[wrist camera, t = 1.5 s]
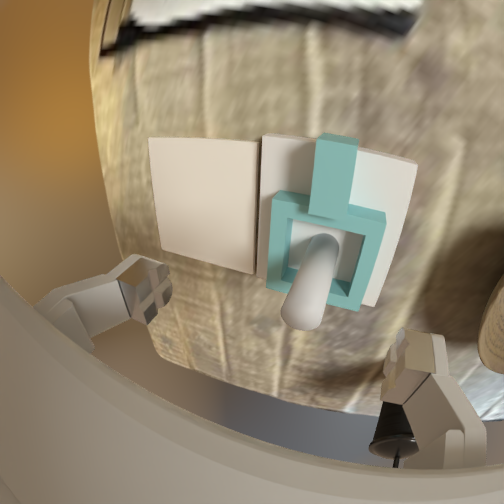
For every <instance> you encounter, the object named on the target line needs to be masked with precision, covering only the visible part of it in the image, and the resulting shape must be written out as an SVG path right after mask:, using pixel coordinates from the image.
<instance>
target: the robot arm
mask: <svg viewBox="0 0 504 504" xmlns="http://www.w3.org/2000/svg"><path fill="white" fill-rule="evenodd" d="M169 274H170V272H169V267H168V265H166V264H165V263H162V262H159V261H156V260H153V259H150V258H148V257H144V256H141V255H138V254H132V255H130V256H129V257H128V258H126V259H125V260H124V261H123V262H121V263H120V264H119V265H118V266H116V267H115V268H114V269H113V270H111V271H110V272H109V273H108V274H106V275H105V274H101V275H98V276H95V277H91V278H88V279H85V280H81V281H78V282H75V283H72V284H69V285H65V286H62V287H59V288H56V289H53V290H52V291H51V292H50V293H49V294H47V295H46V296H45V297H44V298H43V299H42V300H40V301H39V302H38V303H37V304H36V305H34V306H33V307H32V306H31V305H30V304H29V303H27V301H25V300H24V299H23V298H22V297H21V296H20V295H19V294H18V293H17V292H16V291H15V290H14V289H13V288H12V287H11V286H10V285H9V284H8V283H7V282H6V280H5V279H4V278H3V277H2V276H1V275H0V504H504V463H503V464H497V465H491V466H486V428H485V426H484V425H483V423H482V421H481V419H480V418H479V416H478V415H477V413H476V411H475V410H474V408H473V406H472V405H471V403H470V402H469V400H468V399H467V397H466V395H465V394H464V392H463V391H462V389H461V388H460V386H459V385H458V383H457V382H456V380H455V379H454V377H452V376H449V367H448V359H447V351H446V344H445V338H444V336H443V335H439V334H433V333H427V332H422V331H417V330H412V329H407V328H401V329H400V330H399V332H398V334H397V336H396V343H394V344H392V345H391V346H390V348H389V350H388V352H387V355H386V358H385V361H384V366H383V373H384V375H385V376H386V378H385V380H384V381H383V382H382V386H381V396H380V401H385V402H390V403H395V404H401V405H403V409H404V411H405V414H406V416H407V419H408V421H409V424H410V426H411V429H412V431H413V434H414V437H415V439H416V442H417V445H418V448H419V450H420V451H418V452H417V453H415V454H414V455H412V456H410V457H409V458H408V459H406V460H405V461H404V466H403V468H390V467H379V466H371V465H363V464H357V463H350V462H344V461H338V460H333V459H328V458H323V457H319V456H315V455H310V454H306V453H302V452H298V451H294V450H291V449H287V448H284V447H280V446H277V445H274V444H270V443H267V442H264V441H261V440H258V439H255V438H252V437H249V436H247V435H244V434H241V433H238V432H236V431H233V430H231V429H228V428H225V427H223V426H220V425H218V424H215V423H213V422H211V421H209V420H206V419H204V418H202V417H199V416H197V415H195V414H193V413H191V412H189V411H187V410H184V409H182V408H180V407H178V406H176V405H174V404H172V403H170V402H168V401H166V400H165V399H163V398H161V397H159V396H157V395H155V394H153V393H152V392H150V391H148V390H146V389H144V388H143V387H141V386H139V385H137V384H136V383H134V382H132V381H131V380H129V379H127V378H126V377H124V376H123V375H121V374H119V373H118V372H116V371H114V370H113V369H111V368H110V367H109V366H107V365H106V364H104V363H103V362H101V361H100V360H98V359H97V358H95V357H94V356H92V355H91V352H92V351H93V350H94V344H93V343H92V341H91V339H90V338H91V337H93V336H95V335H97V334H99V333H102V332H104V331H106V330H108V329H110V328H112V327H114V326H116V325H118V324H120V323H123V322H125V321H127V320H129V319H130V318H132V319H134V320H137V321H139V322H141V323H143V324H146V325H148V324H149V323H150V322H151V321H152V320H153V318H154V317H155V316H156V315H157V314H158V309H159V308H161V307H164V306H165V305H166V304H167V303H168V302H169V300H170V298H171V295H172V283H171V282H170V280H169V279H168V275H169Z"/></svg>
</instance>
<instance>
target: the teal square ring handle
mask: <svg viewBox="0 0 504 504" xmlns="http://www.w3.org/2000/svg"><path fill="white" fill-rule="evenodd" d="M358 142H359V139H356V138H351V137H346V136H340V135H334V134H328V133H323V134H322V135H321V136H319V137H318V138H317V140H316V150H315V160H314V170H313V179H312V187H311V196H310V195H305V194H300V193H295V192H289V191H284V190H280V191H279V192H278V193H277V194H276V195H275V196H274V197H273V199H272V208H271V224H270V239H269V253H268V267H267V280H266V288H268V289H272V290H276V291H279V292H283V293H287V294H288V292H289V290H290V288H291V286H292V283H293V281H294V279H295V277H296V274H297V272H298V269H294V268H290V267H288V259H289V251H290V242H291V234H292V225H293V219H295V220H300V221H305V222H309V223H314V224H318V225H323V226H327V227H332V228H336V229H341V230H345V231H349V232H353V233H358V234H362V235H363V239H362V243H361V247H360V250H359V254H358V258H357V261H356V265H355V269H354V272H353V275H352V279H351V282H347V281H343V280H339V279H335V278H332V282H331V286H330V290H329V294H328V298H327V302H326V304H329V305H333V306H337V307H341V308H345V309H349V310H353V311H359V308H360V305H361V303H362V300H363V297H364V295H365V292H366V289H367V286H368V283H369V280H370V277H371V274H372V271H373V268H374V265H375V262H376V259H377V256H378V253H379V249H380V246H381V242H382V239H383V235H384V232H385V228H386V225H387V222H386V214H385V212H382V211H378V210H374V209H370V208H366V207H361V206H357V205H353V204H349V200H350V194H351V188H352V182H353V176H354V170H355V164H356V157H357V150H358Z"/></svg>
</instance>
